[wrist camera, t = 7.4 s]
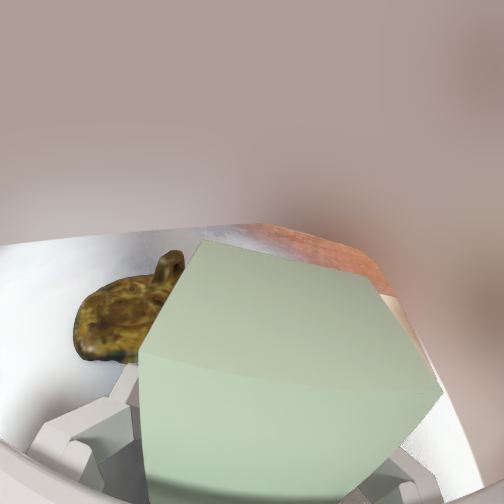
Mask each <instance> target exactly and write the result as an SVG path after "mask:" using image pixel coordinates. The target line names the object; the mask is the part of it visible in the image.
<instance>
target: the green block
mask: <svg viewBox="0 0 504 504" xmlns="http://www.w3.org/2000/svg"><path fill="white" fill-rule="evenodd" d="M138 368H139V404H140V422H141V436H142V447H143V457H144V466H145V474H146V482H147V489H148V496H149V502H150V504H336V503H338V502H339V501H340V500H341V499H343V498H344V497H345V496H346V495H348V494H349V493H350V492H351V491H352V490H354V489H355V488H356V487H357V486H358V485H359V484H360V483H362V482H363V481H364V480H365V479H366V478H367V477H368V476H369V475H371V474H372V473H373V472H374V471H375V470H376V469H377V468H378V467H379V466H380V465H381V464H382V463H383V462H384V461H385V460H386V459H387V458H388V457H389V456H390V455H391V454H392V453H393V452H394V451H395V450H396V449H397V448H398V447H399V446H400V445H401V444H402V442H403V441H404V440H405V439H406V438H407V437H408V436H409V435H410V434H411V432H412V431H413V430H414V429H415V428H416V427H417V426H418V424H419V423H420V422H421V421H422V420H423V418H424V417H425V416H426V415H427V413H428V412H429V411H430V410H431V408H432V407H433V406H434V404H435V403H436V402H437V401H438V399H439V398H440V397H441V395H442V394H443V390H442V389H441V387H440V385H439V384H438V382H437V380H436V379H435V377H434V376H433V374H432V372H431V371H430V369H429V367H428V366H427V364H426V363H425V361H424V360H423V358H422V356H421V355H420V353H419V352H418V350H417V349H416V347H415V346H414V344H413V342H412V341H411V339H410V338H409V336H408V335H407V333H406V332H405V330H404V329H403V327H402V326H401V325H400V323H399V322H398V320H397V319H396V317H395V316H394V314H393V313H392V311H391V310H390V309H389V307H388V306H387V304H386V303H385V301H384V300H383V299H382V297H381V296H380V294H379V293H378V292H377V290H376V289H375V288H374V286H373V285H372V283H371V282H370V281H369V279H368V278H367V277H366V276H361V275H357V274H353V273H348V272H344V271H340V270H335V269H331V268H326V267H322V266H318V265H313V264H309V263H305V262H300V261H296V260H291V259H287V258H283V257H278V256H274V255H269V254H265V253H261V252H256V251H252V250H247V249H243V248H239V247H234V246H230V245H225V244H221V243H217V242H212V241H208V240H202V242H201V243H200V245H199V247H198V248H197V250H196V252H195V253H194V255H193V257H192V258H191V260H190V261H189V263H188V265H187V266H186V268H185V270H184V272H183V273H182V275H181V277H180V278H179V280H178V282H177V283H176V285H175V287H174V288H173V290H172V292H171V294H170V295H169V297H168V299H167V301H166V302H165V304H164V306H163V307H162V309H161V311H160V313H159V315H158V316H157V318H156V320H155V322H154V323H153V325H152V327H151V329H150V331H149V332H148V334H147V336H146V338H145V340H144V341H143V343H142V345H141V347H140V349H139V350H138Z"/></svg>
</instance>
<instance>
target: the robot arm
mask: <svg viewBox="0 0 504 504" xmlns="http://www.w3.org/2000/svg"><path fill="white" fill-rule="evenodd" d="M134 439H137V440H140V441H142V436H141V422H140V404H139V368H138V365H135V364H132V363H128V364H127V365H126V366H125V368H124V369H123V371H122V373H121V375H120V377H119V379H118V380H117V382H116V384H115V386H114V388H113V390H112V392H111V393H110V395H109V397H105V396H103V397H101V398H99V399H97V400H95V401H93V402H90V403H88V404H86V405H84V406H82V407H80V408H77V409H75V410H73V411H71V412H68V413H66V414H64V415H62V416H59V417H57V418H55V419H52V420H50V421H48V422H45V423H44V424H43V426H42V428H41V429H40V431H39V432H38V434H37V436H36V437H35V439H34V441H33V442H32V444H31V446H30V447H29V449H28V451H27V452H26V454H24V453H22V452H21V451H19V450H18V449H16V448H15V447H13V446H12V445H10V444H9V443H7V442H6V441H4V440H3V439H1V438H0V504H132V503H129V502H126V501H123V500H120V499H117V498H114V497H112V496H109V495H106V494H104V493H102V492H103V489H104V486H105V482H104V480H103V477H102V475H101V473H100V470H99V468H98V465H99V464H100V463H102V462H103V461H105V460H106V459H108V458H109V457H111V456H112V455H113V454H115V453H116V452H118V451H119V450H121V449H122V448H123V447H125V446H126V445H128V444H129V443H130V442H132V441H133V440H134ZM358 487H359V489H360V490H361V491H362V492H363V494H364V495H365V496H366V497H367V498H368V500H369V501H370V502H371V503H372V504H504V478H503V479H501V480H499V481H498V482H495V483H494V484H491V485H489V486H487V487H485V488H482V489H480V490H478V491H475V492H473V493H471V494H468V495H466V496H463V497H460V498H458V499H455V500H452V501H449V502H447V503H444V500H443V497H442V495H441V492H440V489H439V486H438V484H437V481H436V478H435V476H434V475H433V474H432V473H431V472H430V471H428V470H427V469H426V468H425V467H423V466H422V465H421V464H420V463H419V462H417V461H416V460H415V459H414V458H413V457H412V456H410V455H409V454H408V453H407V452H406V451H404V450H403V449H402V448H401V447H400V446H399V447H398V448H397V449H396V450H395V451H394V452H393V453H392V454H391V455H390V456H389V457H388V458H387V459H386V460H385V461H384V462H383V463H382V464H381V465H380V466H379V467H378V468H377V469H376V470H375V471H374V472H373V473H372V474H371V475H369V476H368V477H367V478H366V479H365V480H364V481H363V482H362V483H360V484H359V485H358Z"/></svg>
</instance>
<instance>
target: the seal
mask: <svg viewBox="0 0 504 504" xmlns="http://www.w3.org/2000/svg"><path fill="white" fill-rule="evenodd" d="M184 270H185V262H184V255H183V253H182V252H181V251H179V250H171V251H169V252H168V253H167V254H165V255H164V256H162V257H161V258H160V259H159V261H158V264H157V267H156V269H155V273H154V275H151V274H150V275H140V276H133V277H128V278H124V279H120V280H117V281H115V282H112V283H110V284H108V285H106V286H104V287H102V288H100V289H99V290H97V291H96V292H94V293H93V294H91V295H89V296H88V297H87V298H86V299H85V300H84V301H83V302H82V304H81V306H80V308H79V310H78V312H77V315H76V318H75V323H74V328H73V341H74V347H75V349H76V351H77V353H78V354H79V356H80V357H81V358H82V359H83V360H88V361H92V360H101V361H110V360H114V361H117V362H119V363H123V364H128V363H136V362H138V350H139V349H140V347H141V345H142V343H143V341H144V340H145V338H146V336H147V334H148V332H149V331H150V329H151V327H152V325H153V323H154V322H155V320H156V318H157V316H158V315H159V313H160V311H161V309H162V307H163V306H164V304H165V302H166V301H167V299H168V297H169V295H170V294H171V292H172V290H173V288H174V287H175V285H176V283H177V282H178V280H179V278H180V277H181V275H182V273H183V272H184Z"/></svg>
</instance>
